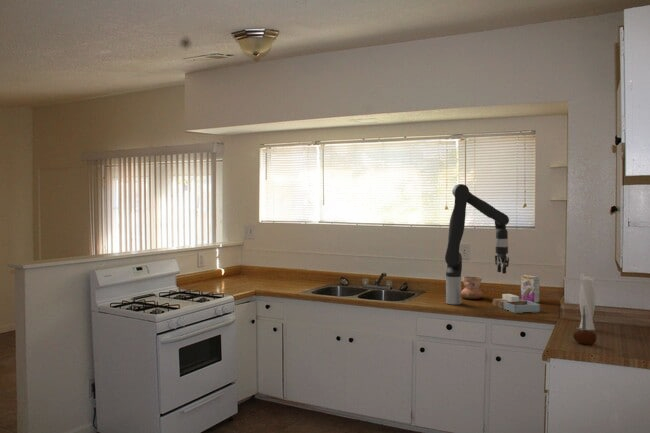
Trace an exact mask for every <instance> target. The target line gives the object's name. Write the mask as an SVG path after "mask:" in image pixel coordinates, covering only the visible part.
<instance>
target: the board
mask: <svg viewBox="0 0 650 433" xmlns="http://www.w3.org/2000/svg"><path fill="white" fill-rule="evenodd" d="M504 302H507V303H510V304H513V305H527V301H525V300H522V299H521V298H519V302H510V301H507V300H504V299H502V297H501V298H499V297H498V298H492V306H494V307H496V306H497V308H500V309H502V308H503V309H502V310H505V309H504Z"/></svg>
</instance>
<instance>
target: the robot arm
mask: <svg viewBox="0 0 650 433" xmlns="http://www.w3.org/2000/svg"><path fill="white" fill-rule="evenodd" d="M451 192H452V195H453V197H454V204H453V205H454V206H453V209H452V212H451V215H450V220H449V227H448V240H447V247H446V251H445V256H444V260H445V263H446V266H447V267H446V271H445V293H446V294H445V303H446V304H449V305H461V304H462V296H461V291H462V271H463V269H462V268H463V257H462V254H461V252H460V245H461V242H462V241H461V240H462V238H463V236H464V230H465V224H466V213H467V212H466V211H467V204H469V205H470V206H471V207H474V209H475V210H477V211H479V212H480V213H481V214H483V215H484V216H486V217H487V218H489V219H491V220H493V221H494V228H495V253H496V254H497V255H494V262H495V263H494V265H495V266H496V267H497V273H502V274H507V268H508V267H509V264H510V262H509V261H510V258H509V256H508V257H507V254H508V253H509V238H508V237H509V236H508V230H507V225H508V224H509V222H510V218H509V216H508V215H507V214H506V213H504V212H503V211H501V210H498V209H496V208H495V207H494V206H493V205H491V204H489V203H488V202H486V201H484V200H483V199H481V198H479V197H477V196H476V195H475V194H473V193H472V192H470V188H469V187H468V185H466V184H464V183H457V184H455V185H454V186H452V190H451Z"/></svg>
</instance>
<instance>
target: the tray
mask: <svg viewBox="0 0 650 433" xmlns="http://www.w3.org/2000/svg"><path fill="white" fill-rule="evenodd" d="M505 309H506V310H505ZM503 310H505V311H507V310H509V311H508V312H510V311H511V313H513V312H514V313H513V314H524V313H523V312H532V313H541V304H540V303H534V302H531V301H527V305H513V304H510V303H507V302H504V309H503Z"/></svg>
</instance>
